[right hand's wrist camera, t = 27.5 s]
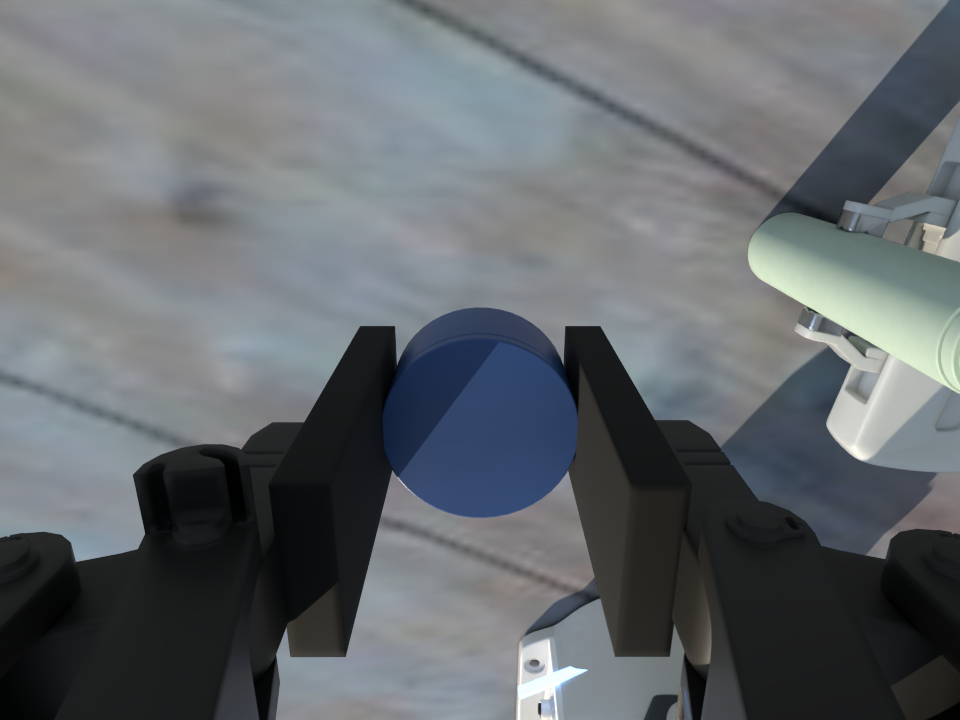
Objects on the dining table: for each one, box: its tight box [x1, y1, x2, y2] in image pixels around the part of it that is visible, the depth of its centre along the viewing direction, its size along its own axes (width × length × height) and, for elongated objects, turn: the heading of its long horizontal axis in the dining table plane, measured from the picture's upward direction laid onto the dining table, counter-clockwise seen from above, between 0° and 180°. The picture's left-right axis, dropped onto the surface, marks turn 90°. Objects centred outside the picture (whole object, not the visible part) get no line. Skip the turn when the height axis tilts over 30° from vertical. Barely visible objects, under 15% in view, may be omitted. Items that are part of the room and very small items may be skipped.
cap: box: [382, 308, 578, 518], centre depth 13 cm, size 4×4×2 cm
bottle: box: [748, 212, 960, 394], centre depth 30 cm, size 5×5×24 cm
